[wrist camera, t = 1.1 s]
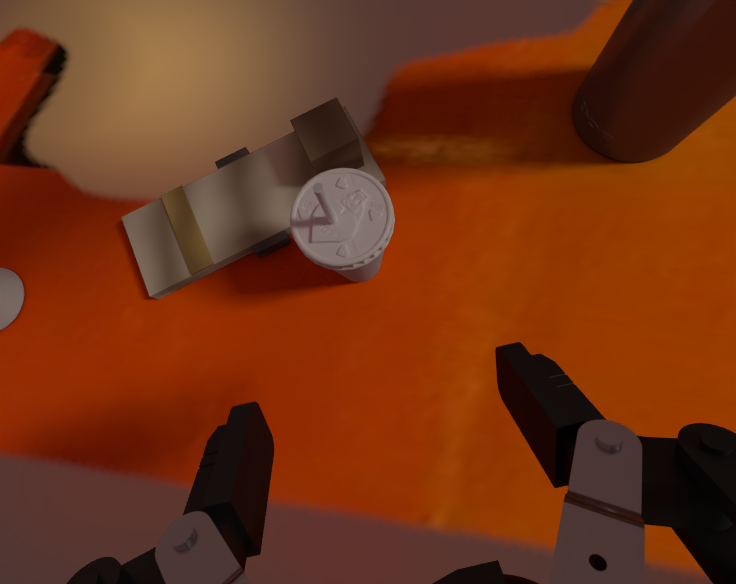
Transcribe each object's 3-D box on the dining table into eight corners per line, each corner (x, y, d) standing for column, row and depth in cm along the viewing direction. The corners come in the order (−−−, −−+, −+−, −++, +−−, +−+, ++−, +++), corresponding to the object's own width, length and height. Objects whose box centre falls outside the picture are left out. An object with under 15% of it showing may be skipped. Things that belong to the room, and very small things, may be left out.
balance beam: (343, 108, 36) (332, 64, 31) (390, 193, 34) (387, 161, 29) (128, 215, 36) (82, 188, 31) (161, 307, 34) (117, 295, 29)
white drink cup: (306, 261, 33) (237, 182, 20) (360, 210, 34) (330, 98, 20) (358, 314, 32) (322, 269, 18) (413, 260, 32) (419, 177, 19)
